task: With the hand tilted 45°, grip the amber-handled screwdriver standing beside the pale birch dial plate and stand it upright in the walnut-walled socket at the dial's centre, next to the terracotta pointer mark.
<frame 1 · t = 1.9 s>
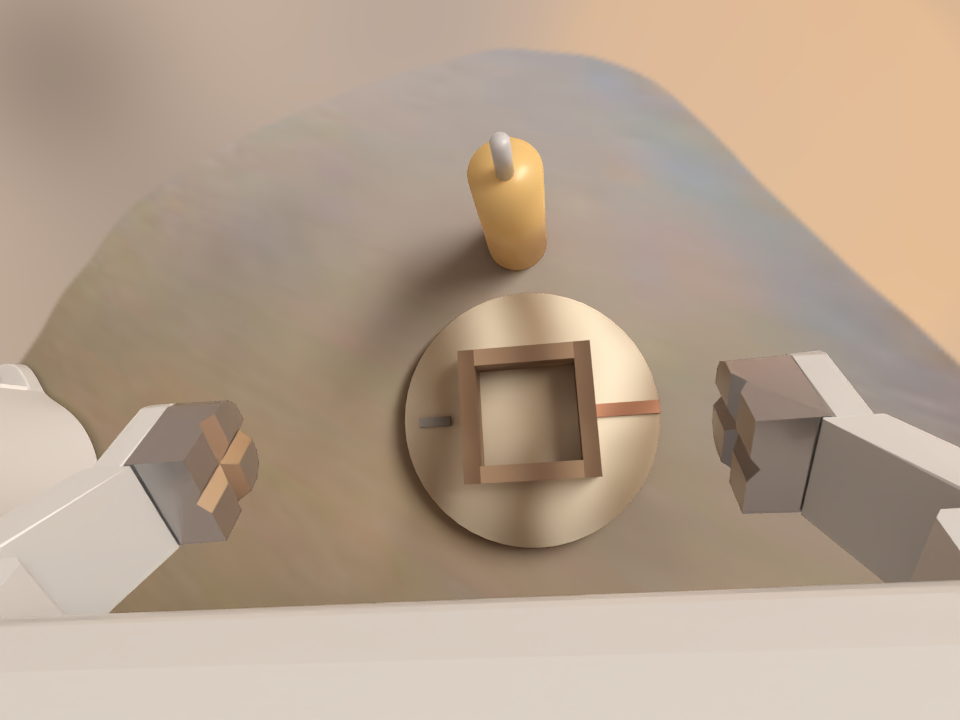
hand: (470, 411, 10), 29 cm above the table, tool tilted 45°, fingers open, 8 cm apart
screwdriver: (517, 242, 42), on the table
dial plate: (530, 417, 40), on the table
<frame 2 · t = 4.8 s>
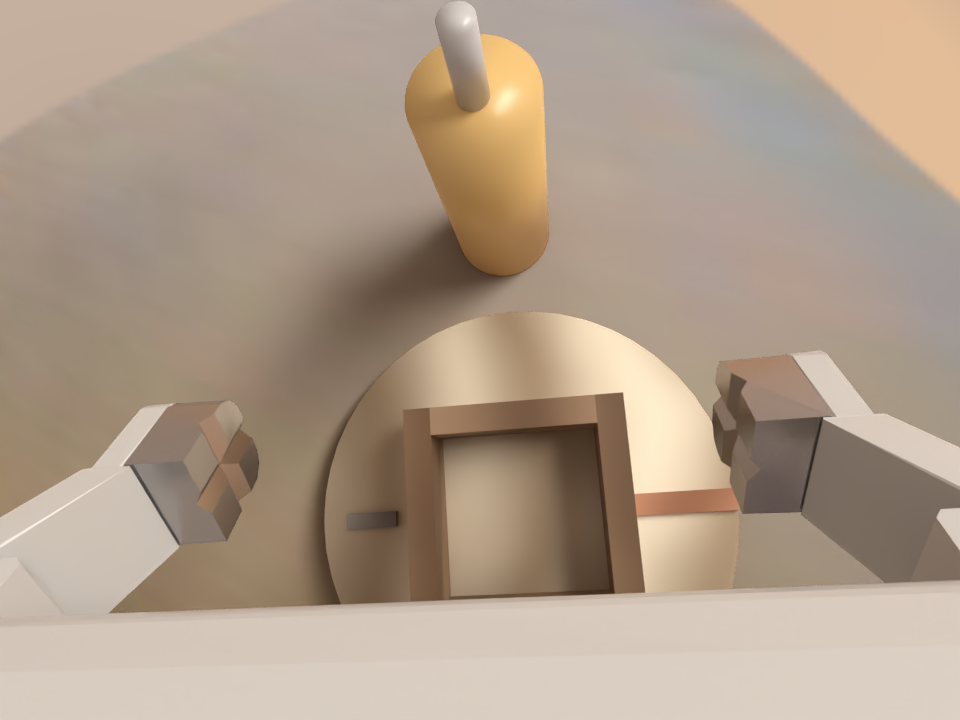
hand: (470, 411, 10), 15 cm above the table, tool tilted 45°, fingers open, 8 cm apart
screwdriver: (503, 233, 27), on the table
dial plate: (524, 509, 25), on the table
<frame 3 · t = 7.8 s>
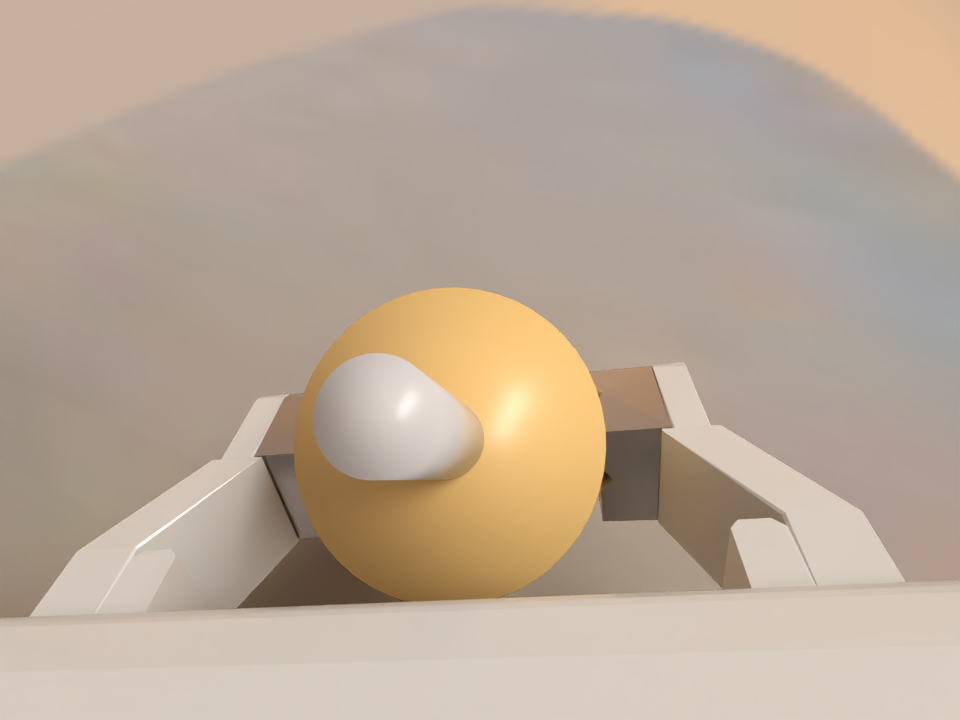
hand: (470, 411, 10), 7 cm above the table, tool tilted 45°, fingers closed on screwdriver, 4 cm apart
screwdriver: (509, 461, 17), on the table, touching gripper
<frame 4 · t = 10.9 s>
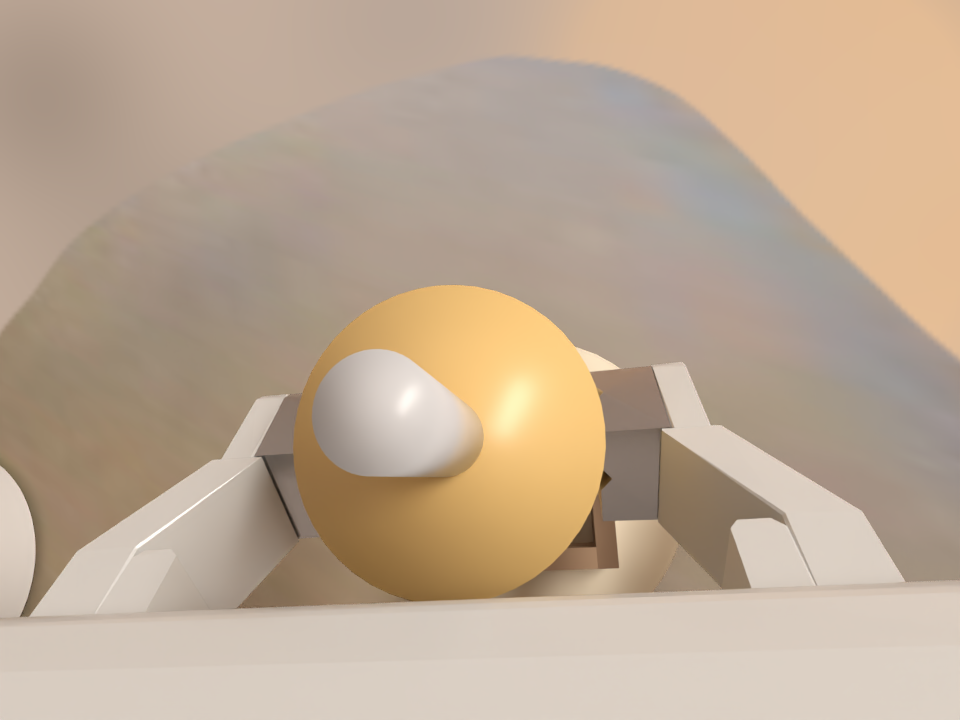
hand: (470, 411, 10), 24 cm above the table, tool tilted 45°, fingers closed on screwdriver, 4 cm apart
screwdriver: (509, 460, 17), point 17 cm above the table, touching gripper
dial plate: (532, 486, 34), on the table
when the fingers open (10 cm above the table, at t = 14.2 s): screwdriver stays where it is, resting on dial plate.
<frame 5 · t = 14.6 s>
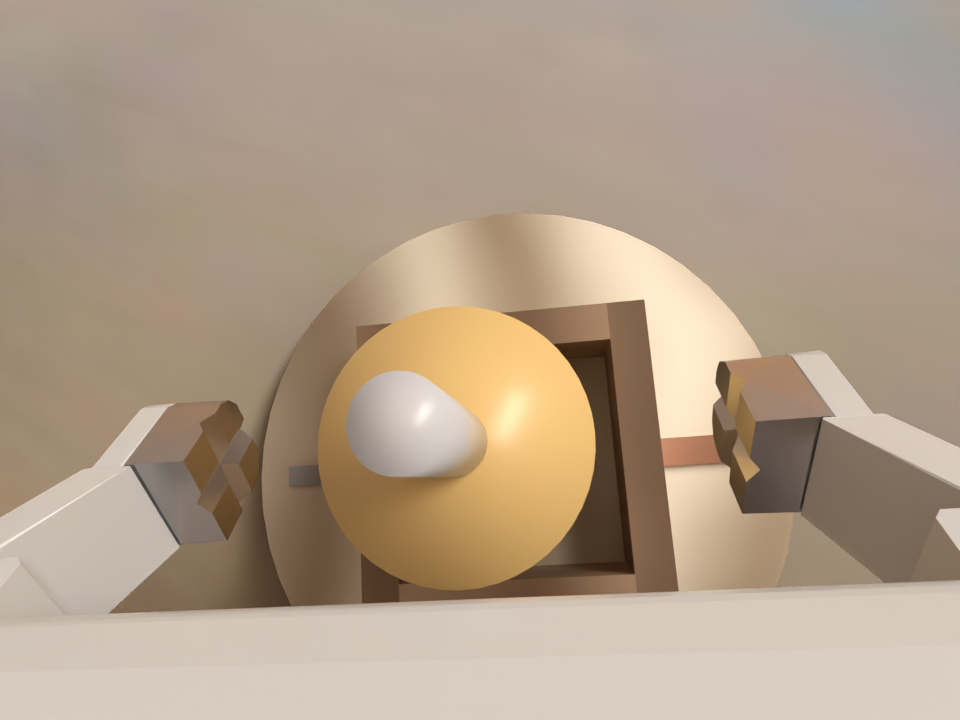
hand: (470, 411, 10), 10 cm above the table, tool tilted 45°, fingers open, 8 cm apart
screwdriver: (510, 462, 18), point 1 cm above the table, touching dial plate
dial plate: (516, 463, 20), on the table
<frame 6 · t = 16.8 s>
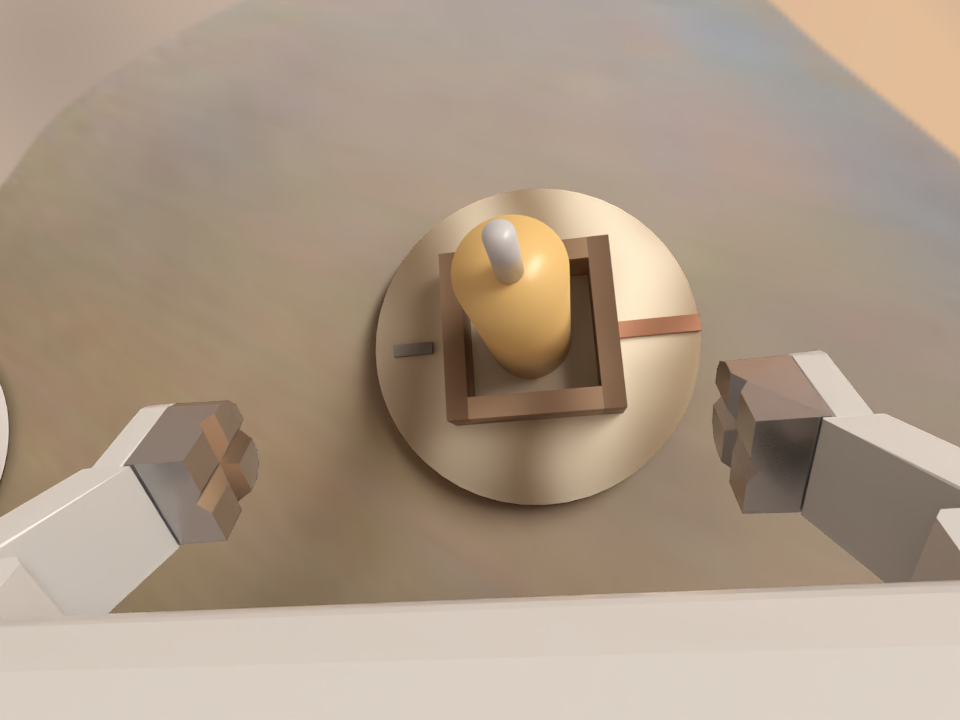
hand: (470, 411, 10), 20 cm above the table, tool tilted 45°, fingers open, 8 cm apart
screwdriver: (530, 338, 30), point 1 cm above the table, touching dial plate
dial plate: (533, 344, 31), on the table
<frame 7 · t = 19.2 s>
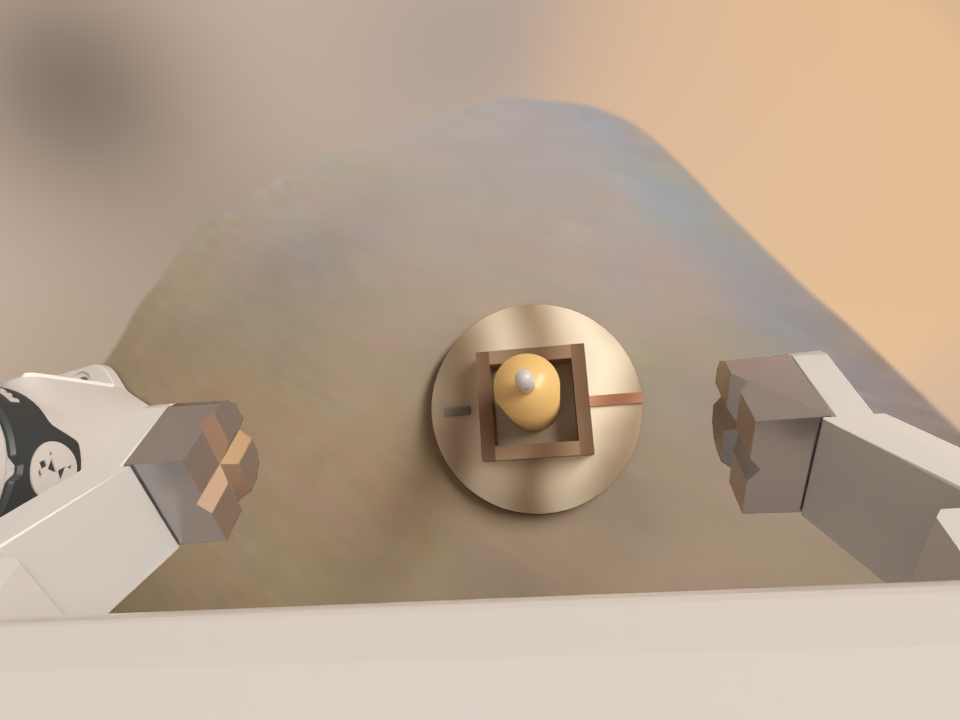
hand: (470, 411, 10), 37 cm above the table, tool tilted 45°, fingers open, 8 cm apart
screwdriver: (533, 405, 46), point 1 cm above the table, touching dial plate
dial plate: (535, 407, 48), on the table
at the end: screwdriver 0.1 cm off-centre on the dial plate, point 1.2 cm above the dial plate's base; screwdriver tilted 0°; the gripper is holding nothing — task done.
